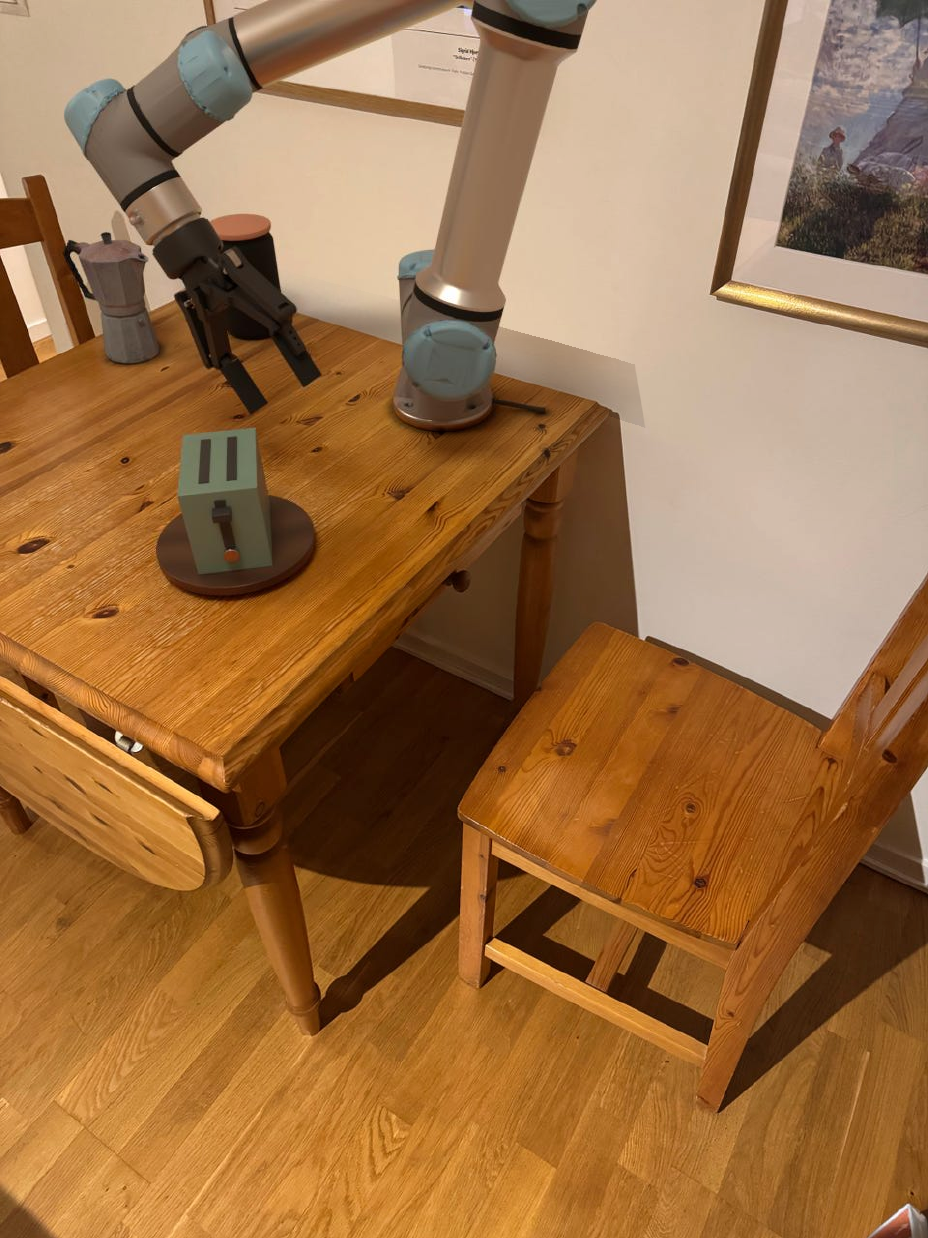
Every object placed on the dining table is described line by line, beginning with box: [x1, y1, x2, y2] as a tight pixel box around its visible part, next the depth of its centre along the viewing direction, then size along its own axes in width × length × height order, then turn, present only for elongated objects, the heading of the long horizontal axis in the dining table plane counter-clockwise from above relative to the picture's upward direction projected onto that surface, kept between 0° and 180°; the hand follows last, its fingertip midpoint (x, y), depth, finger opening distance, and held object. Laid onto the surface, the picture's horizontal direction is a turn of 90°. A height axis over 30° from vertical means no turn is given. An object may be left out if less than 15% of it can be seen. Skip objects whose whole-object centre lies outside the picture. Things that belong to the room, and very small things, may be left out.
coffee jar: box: [209, 213, 283, 341], centre depth 148 cm, size 11×11×18 cm
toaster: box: [155, 427, 316, 596], centre depth 102 cm, size 19×19×12 cm
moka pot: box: [62, 231, 161, 364], centre depth 141 cm, size 10×15×20 cm, turn 78°
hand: (285, 396), depth 106 cm, fingers open, 13 cm apart
